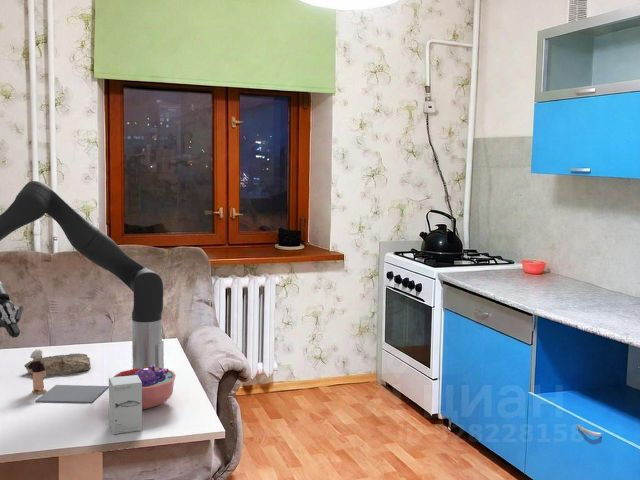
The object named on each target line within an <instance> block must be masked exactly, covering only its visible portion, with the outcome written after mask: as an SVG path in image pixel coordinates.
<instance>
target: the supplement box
mask: <svg viewBox="0 0 640 480" xmlns="http://www.w3.org/2000/svg"><path fill="white" fill-rule="evenodd" d="M108 386H109V388H108V420H109V421H108V425H109V428H110V431H111V433H112V435H117V434H125V433H130V432H131V433H132V432H140V431H143V409H142V382H141V380H140V378H139V376H138V375H132V376H121V377H108Z"/></svg>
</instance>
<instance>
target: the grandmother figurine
mask: <svg viewBox="0 0 640 480" xmlns="http://www.w3.org/2000/svg"><path fill="white" fill-rule="evenodd" d="M29 358H30V359H32V360H34V362H32V363H31V364H30V365H29V366H28V370H27V373H29V374H31V370H32V372H33V375H32V388H33V389H32V391H31V393H32V394H36V395H43V394H45V393H46V392H47V391H48V390H46V389H45V384H44V383H45V382H44V378H46V377H47V376H46V372H45V368H44V365H43V363H42V362H40V361H41V360H42V358H43V350H41V349H35V350H33V351H32V352H31V354H30V355H29Z"/></svg>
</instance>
